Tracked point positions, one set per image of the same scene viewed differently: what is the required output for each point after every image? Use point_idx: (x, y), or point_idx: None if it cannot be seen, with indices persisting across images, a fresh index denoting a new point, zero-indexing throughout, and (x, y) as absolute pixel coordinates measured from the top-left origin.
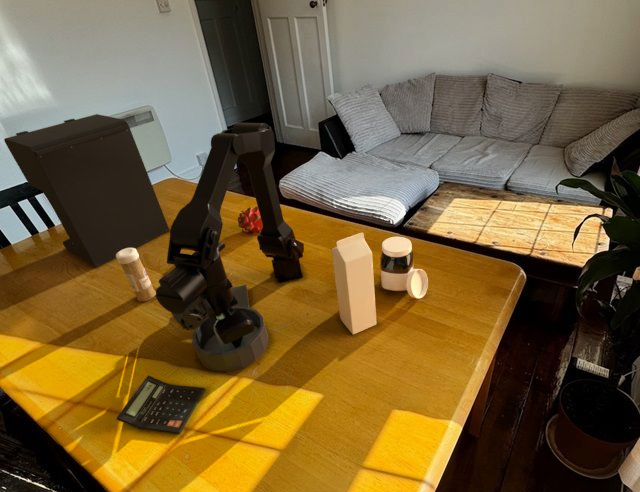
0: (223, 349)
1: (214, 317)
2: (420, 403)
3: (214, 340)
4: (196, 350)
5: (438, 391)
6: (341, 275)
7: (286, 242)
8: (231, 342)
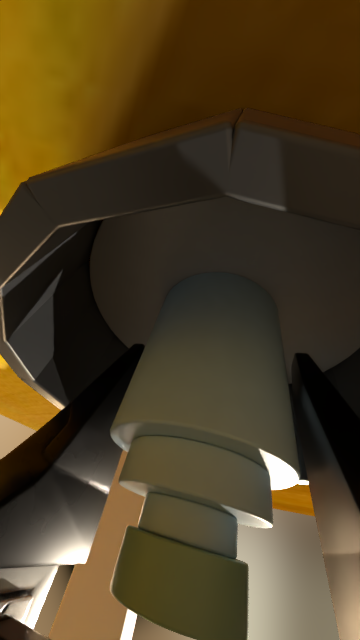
0: (179, 296)
1: (355, 497)
2: (2, 407)
3: (335, 263)
4: (132, 144)
5: (20, 418)
6: (84, 614)
7: None
8: (85, 388)
